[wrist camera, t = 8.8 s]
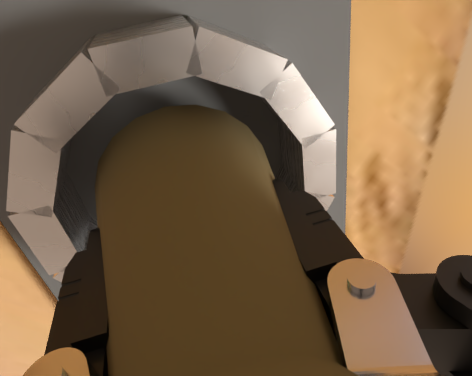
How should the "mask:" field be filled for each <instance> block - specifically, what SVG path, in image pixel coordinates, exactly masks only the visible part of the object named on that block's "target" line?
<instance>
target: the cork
mask: <svg viewBox="0 0 472 376" xmlns="http://www.w3.org/2000/svg"><path fill="white" fill-rule="evenodd" d="M274 179H275V178H274V175H273V172H272V170H271V167H270V164H269V162H268V159H267V156H266V154H265V151H264V149H263V146H262V144H261V143H260V142H259V140H258V139H257V138H256V137H255V135H254V134H253V133H252V131H251V130H250V129H249V127H248V126H247V125H245V124H244V123H242V122H240V121H239V120H237V119H236V118H234V117H233V116H231V115H229V114H228V113H226V112H225V111H221V110H217V109H213V108H209V107H204V106H200V105H181V106H166V107H163V108H160V109H157V110H155V111H152V112H150V113H147V114H145V115H142V116H140V117H137V118H135V119H134V120H133V121H131V122H130V123H129V124H128V125H127V126H125V127H124V128H123V129H122V130H121V131H119V132H118V133H117V134H116V135H115V136H113V137H112V139H111V141H110V142H109V144H108V146H107V147H106V149H105V151H104V152H103V154H102V156H101V158H100V159H99V161H98V167H97V174H96V180H95V200H96V213H97V227H98V228H100V237H101V247H102V257H103V267H104V278H105V288H106V298H107V308H108V327H109V337H108V341H107V346H106V350H107V363H108V376H359V375H357V374H355V373H354V372H352V371H350V370H348V369H347V368H345V367H343V365H342V360H341V356H340V351H339V347H338V343H337V341H336V338H335V336H334V333H333V330H332V328H331V325H330V322H329V320H328V317H327V314H326V312H325V309H324V307H323V304H322V301H321V299H320V296H319V293H318V291H317V288H316V285H315V284H314V283H313V282H312V281H311V280H310V279H309V278H308V276H307V275H306V273H305V271H304V269H303V267H302V264H301V262H300V260H299V258H298V255H297V252H296V249H295V246H294V243H293V240H292V238H291V235H290V232H289V229H288V226H287V223H286V220H285V217H284V214H283V211H282V208H281V206H280V203H279V200H278V197H277V194H276V191H275V188H274V185H273V182H272V180H274Z"/></svg>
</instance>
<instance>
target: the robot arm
mask: <svg viewBox="0 0 472 376" xmlns="http://www.w3.org/2000/svg"><path fill="white" fill-rule="evenodd" d="M272 182H273V185H274V188H275V191H276V194H277V197H278V200H279V203H280V206H281V208H282V211H283V214H284V217H285V220H286V223H287V226H288V229H289V232H290V235H291V238H292V240H293V243H294V246H295V249H296V252H297V255H298V258H299V260H300V262H301V264H302V267H303V269H304V271H305V273H306V275H307V276H308V278H309V279H310V280H311V281H312V282H313V283H314V284H315V285H316V288H317V291H318V293H319V296H320V299H321V301H322V304H323V307H324V309H325V312H326V314H327V317H328V320H329V322H330V325H331V328H332V330H333V333H334V336H335V338H336V341H337V343H338V347H339V351H340V356H341V360H342V365H343V367H345V368H347V369H348V370H350V371H352V372H354V373H355V374H357V375H359V376H472V256H470V255H457V256H452V257H449V258H447V259H445V260H443V261H442V262H441V263H440V264H439V266H438V268H437V272H436V273H435V274H396V273H391V272H389V271H388V270H387V269H386V268H385V267H383V266H382V265H380V264H378V263H376V262H374V261H371V260H367V259H364V258H363V257H362V256H361V255H360V253H359V252H358V251H357V249H356V248H355V247H354V246H353V244H352V243H351V242H350V240H349V239H348V238H347V237H346V235H345V234H344V233H343V231H342V230H341V229H340V228H339V226H338V225H337V224H336V222H335V221H334V220H332V217H331V216H330V215H329V213H328V212H327V211H325V208H324V207H323V206H322V204H321V203H320V202H319V201H318V199H317V198H316V197H315V196H313V195H311V194H309V193H307V192H306V191H304V190H302V189H301V190H298V191H294V192H290V191H289V189H288V188H287V186H286V185H285V183H284V182H283V180H282V179H281V178H278V179H274V180H272ZM61 285H62V287H61V288H60V291H59V296H58V299H59V301H57V304H56V308H55V312H54V317H53V321H52V325H51V329H50V334H49V338H48V342H47V346H46V350H45V354H44V356H42V357H41V358H40V359H38V360H37V361H36V362H35V363H34V364H33V365H31V366H30V368H29V369H28V370H27V371H26V372H25V373H24V375H23V376H108V363H107V350H106V346H107V341H108V337H109V327H108V308H107V298H106V288H105V278H104V267H103V257H102V247H101V237H100V228H96V229H92V230H90V233H89V238H88V244H87V249H86V250H83V251H80V252H76V253H75V255H74V256H73V257H72V259H71V260H70V262H69V263H68V265H67V266H66V268H65V270H64V274H63V279H62V283H61Z"/></svg>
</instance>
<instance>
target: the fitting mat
mask: <svg viewBox="0 0 472 376" xmlns="http://www.w3.org/2000/svg"><path fill="white" fill-rule="evenodd" d="M178 15H182V16H183V17H184V18H185V19H187V15H188V16H191V17H193V18H196V19H199V20H201V21H204V22H206V23H209V24H212V25H214V26H217V27H220V28H222V29H225V30H228V31H230V32H233V33H236V34H238V35H241V36H243V37H246V38H249V39H251V40H254V41H257V42H259V43H262V44H263V45H265V46H267V47H268V48H270V49H272V50H273V51H275V52H277V53H278V54H280V55H281V56H283V57H285V58H286V59H288V61H290V62H292V63H293V65H294V66H295V67H296V69H297V70H298V72H299V73H300V75H301V76H302V78H303V79H304V80H305V82H306V83H307V85H308V86H309V88H310V89H311V91H312V92H313V94H314V95H315V96H316V98H317V99H318V101H319V102H320V104H321V105H322V107H323V108H324V109H325V111H326V112H327V114H328V115H329V117H330V118H331V120H332V121H333V123H334V124H335V125H334V126H333V127H334V128H335V129H336V193H335V194H332V195H333V196H334V197H335V198H334V199H333V201H332V203H331V205H330V207H329V208H328V210H327V212H328V213H329V215H330V216H331V217H332V220H334V221H335V222H336V224H337V225H338V226H339V228H340V229H341V230H342V231H343V233H344V234H345V216H346V177H347V138H348V99H349V60H350V22H351V0H0V221H1V222H2V224H3V225H4V227H5V228H6V229H7V231H8V232H9V233H10V235H11V236H12V238H13V239H14V240H15V242H16V243H17V245H18V246H19V247H20V249H21V250H22V251H23V253H24V254H25V256H26V257H27V258H28V260H29V261H30V263H31V264H32V265H33V267H34V268H35V269H36V271H37V272H38V274H39V275H40V276H41V278H42V279H43V281H44V282H45V283H46V285H47V286H48V287H49V289H50V290H51V292H52V293H53V294H54V296H55V297H56V299H57V300H58V301H59V299H58V296H59V291H60V288H61V287H62V285H61V283H62V282H60V281H57V280H55V279H53V276H54V274H52V275H48V273H47V272H46V270H45V269H44V267H43V266H42V265H41V263H40V262H39V260H38V259H37V257H36V256H35V255H34V253H33V252H32V250H31V249H30V247H29V246H28V245H27V243H26V242H25V240H24V239H23V237H22V236H21V235H20V233H19V232H18V230H17V229H16V227H15V226H14V225H13V223H12V222H11V220H10V219H9V217H8V215H9V213H10V212H9V211H6V205H7V189H8V173H9V157H10V141H11V130H12V128H13V127H14V126H15V125H14V123H15V122H16V121H17V119H18V118H19V117H20V116H21V114H22V113H23V112H24V111H25V109H26V108H27V107H28V106H29V104H30V103H31V102H32V100H33V99H34V98H35V97H36V95H37V94H38V93H39V92H40V91H41V90H42V89H43V88H44V87H45V86H46V85H47V84H48V82H49V81H50V80H51V79H52V78H53V77H54V76H55V75H56V74H57V73H58V72H59V71H60V70H61V69H62V68H63V66H64V65H65V64H66V63H67V62H68V61H69V60H70V59H71V58H72V57H73V56H74V55H75V54H76V53H77V51H78V50H79V49H80V48H81V47H82V46H83V45H84V44H85V43H86V42H87V41H88V40H89V39H90V38H91V37H92V36H93V37H94V38H95V36H96V34H97V33H99V32H104V31H109V30H113V29H118V28H123V27H127V26H132V25H137V24H141V23H146V22H151V21H155V20H160V19H164V18H169V17H174V16H178ZM181 105H200V106H204V107H209V108H213V109H217V110H221V111H225V112H226V113H228V114H229V115H231V116H233V117H234V118H236V119H237V120H239V121H240V122H242V123H244V124H245V125H247V126H248V127H249V129H250V130H251V131H252V133H253V134H254V135H255V137H256V138H257V139H258V140H259V142H260V143H261V144H262V146H263V149H264V151H265V154H266V156H267V159H268V162H269V164H270V167H271V170H272V172H273V175H274V178H275V177H276V175H277V173H278V171H279V169H280V166H281V156H280V146H279V136H278V126H277V117H276V116H275V115H274V113H273V112H272V111H271V110H270V109H269V107H268V106H267V105H266V104H265V102H264V101H263V100H262V99H261V97H260V96H257V95H254V94H251V93H248V92H244V91H241V90H238V89H235V88H232V87H228V86H225V85H222V84H219V83H216V82H212V81H209V80H206V79H203V78H200V77H196V76H191V77H187V78H183V79H179V80H174V81H170V82H166V83H162V84H158V85H153V86H149V87H145V88H141V89H136V90H132V91H128V92H124V93H119V94H115V95H114V96H113V97H112V98H111V99H110V100H109V101H108V102H107V103H106V104H105V105H104V106H103V107H102V108H101V109H100V110H99V111H98V112H97V113H96V114H95V115H94V116H93V117H92V118H91V119H90V120H89V121H88V122H87V123H86V124H85V125H84V126H83V127H82V128H81V129H80V130H79V131H78V132H77V133H76V134H75V135H74V136H73V137H72V138H71V145H70V152H69V159H68V165H67V173H68V174H69V176H70V178H71V180H72V182H73V184H74V186H75V188H76V190H77V192H78V194H79V196H80V197H81V199H82V201H83V203H84V205H85V207H86V209H87V211H88V213H89V215H90V216H91V217H92V218H94V219H95V220H97V213H96V200H95V180H96V174H97V167H98V161H99V159H100V158H101V156H102V154H103V152H104V151H105V149H106V147H107V146H108V144H109V142H110V141H111V139H112V137H113V136H115V135H116V134H117V133H118V132H119V131H121V130H122V129H123V128H124V127H125V126H127V125H128V124H129V123H130V122H131V121H133V120H134V119H135V118H137V117H140V116H142V115H145V114H147V113H150V112H152V111H155V110H157V109H160V108H163V107H166V106H181Z"/></svg>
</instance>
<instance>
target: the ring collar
mask: <svg viewBox="0 0 472 376" xmlns="http://www.w3.org/2000/svg"><path fill="white" fill-rule="evenodd" d="M191 76H196V77H200V78H203V79H206V80H209V81H212V82H216V83H219V84H222V85H225V86H228V87H232V88H235V89H238V90H241V91H244V92H248V93H251V94H254V95H257V96H260V97H261V99H262V100H263V101H264V102H265V104H266V105H267V106H268V107H269V109H270V110H271V111H272V112H273V113H274V115H275V116H276V117H277V126H278V136H279V146H280V156H281V166H280V169H279V171H278V173H277V175H276V177H275V179H278V178H281V179H282V180H283V182H284V183H285V185H286V186H287V188H288V189H289V191H290V192H294V191H298V190H301V189H302V190H304V191H306V192H307V193H309V194H311V195H313V196H315V197H316V198H317V199H318V201H319V202H320V203H321V204H322V206H323V207H324V208H325V211H327V210H328V208H329V207H330V205H331V203H332V201H333V199H334V198H335V197H334V196H333V195H332V194H335V193H336V129H335V128H334V127H333V126H334V125H335V124H334V123H333V121H332V120H331V118H330V117H329V115H328V114H327V112H326V111H325V109H324V108H323V107H322V105H321V104H320V102H319V101H318V99H317V98H316V96H315V95H314V94H313V92H312V91H311V89H310V88H309V86H308V85H307V83H306V82H305V80H304V79H303V78H302V76H301V75H300V73H299V72H298V70H297V69H296V67H295V66H294V65H293V63H292V62H290V61H288V59H286V58H285V57H283V56H281V55H280V54H278V53H277V52H275V51H273V50H272V49H270V48H268V47H267V46H265V45H263V44H262V43H259V42H257V41H254V40H251V39H249V38H246V37H243V36H241V35H238V34H236V33H233V32H230V31H228V30H225V29H222V28H220V27H217V26H214V25H212V24H209V23H206V22H204V21H201V20H199V19H196V18H193V17H191V16H188V15H187V19H185V18H184V17H183V16H182V15H178V16H174V17H169V18H164V19H160V20H155V21H151V22H146V23H141V24H137V25H132V26H127V27H123V28H118V29H113V30H109V31H104V32H99V33H97V34H96V36H95V38H94V37H93V36H92V37H91V38H90V39H89V40H88V41H87V42H86V43H85V44H84V45H83V46H82V47H81V48H80V49H79V50H78V51H77V53H76V54H75V55H74V56H73V57H72V58H71V59H70V60H69V61H68V62H67V63H66V64H65V65H64V66H63V68H62V69H61V70H60V71H59V72H58V73H57V74H56V75H55V76H54V77H53V78H52V79H51V80H50V81H49V82H48V84H47V85H46V86H45V87H44V88H43V89H42V90H41V91H40V92H39V93H38V94H37V95H36V97H35V98H34V99H33V100H32V102H31V103H30V104H29V106H28V107H27V108H26V109H25V111H24V112H23V113H22V114H21V116H20V117H19V118H18V119H17V121H16V122H15V123H14V125H15V126H14V127H13V128H12V130H11V141H10V157H9V173H8V189H7V205H6V211H9V212H10V213H9V215H8V217H9V219H10V220H11V222H12V223H13V225H14V226H15V227H16V229H17V230H18V232H19V233H20V235H21V236H22V237H23V239H24V240H25V242H26V243H27V245H28V246H29V247H30V249H31V250H32V252H33V253H34V255H35V256H36V257H37V259H38V260H39V262H40V263H41V265H42V266H43V267H44V269H45V270H46V272H47V273H48V275H52V274H54V276H53V279H55V280H57V281H60V282H62V279H63V274H64V270H65V268H66V266H67V265H68V263H69V262H70V260H71V259H72V257H73V256H74V255H75V253H76V252H80V251H83V250H86V249H87V244H88V238H89V233H90V230H92V229H96V228H98V227H97V220H95V219H94V218H92V217H91V216H90V215H89V213H88V211H87V209H86V207H85V205H84V203H83V201H82V199H81V197H80V196H79V194H78V192H77V190H76V188H75V186H74V184H73V182H72V180H71V178H70V176H69V174H68V173H67V165H68V159H69V152H70V145H71V138H72V137H73V136H74V135H75V134H76V133H77V132H78V131H79V130H80V129H81V128H82V127H83V126H84V125H85V124H86V123H87V122H88V121H89V120H90V119H91V118H92V117H93V116H94V115H95V114H96V113H97V112H98V111H99V110H100V109H101V108H102V107H103V106H104V105H105V104H106V103H107V102H108V101H109V100H110V99H111V98H112V97H113V96H114V95H115V94H119V93H124V92H128V91H132V90H136V89H141V88H145V87H149V86H153V85H158V84H162V83H166V82H170V81H174V80H179V79H183V78H187V77H191Z"/></svg>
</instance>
